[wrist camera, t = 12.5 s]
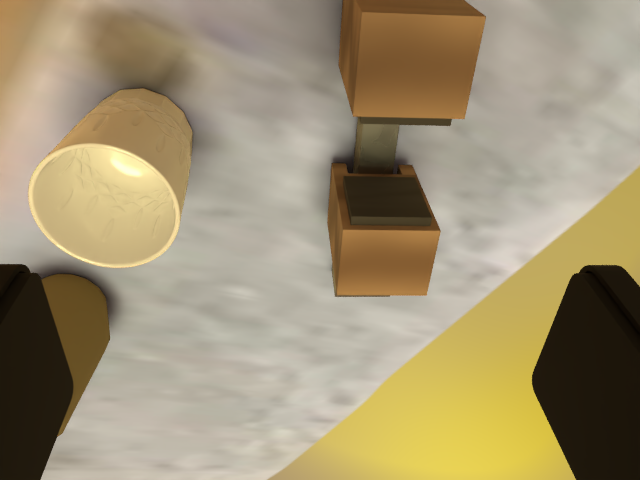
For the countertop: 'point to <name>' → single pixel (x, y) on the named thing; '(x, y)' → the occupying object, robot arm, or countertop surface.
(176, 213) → the white cup
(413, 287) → the brown capped cube
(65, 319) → the squeeze bottle
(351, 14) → the wooden block
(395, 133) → the rail
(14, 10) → the countertop surface
